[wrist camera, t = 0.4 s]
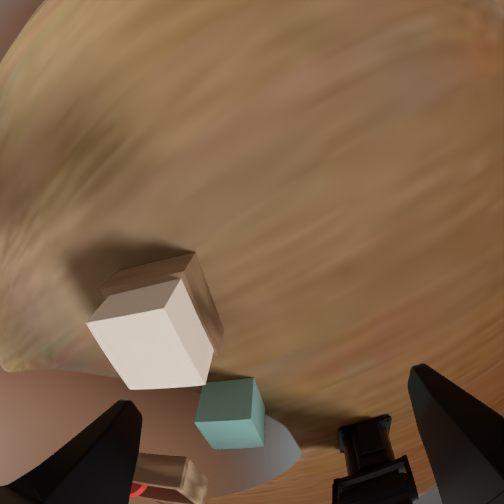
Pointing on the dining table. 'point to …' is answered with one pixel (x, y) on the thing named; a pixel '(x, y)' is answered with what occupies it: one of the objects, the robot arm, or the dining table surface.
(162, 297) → the cream block
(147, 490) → the bracket cradle
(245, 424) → the teal cube
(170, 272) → the walnut block
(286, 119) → the dining table surface
